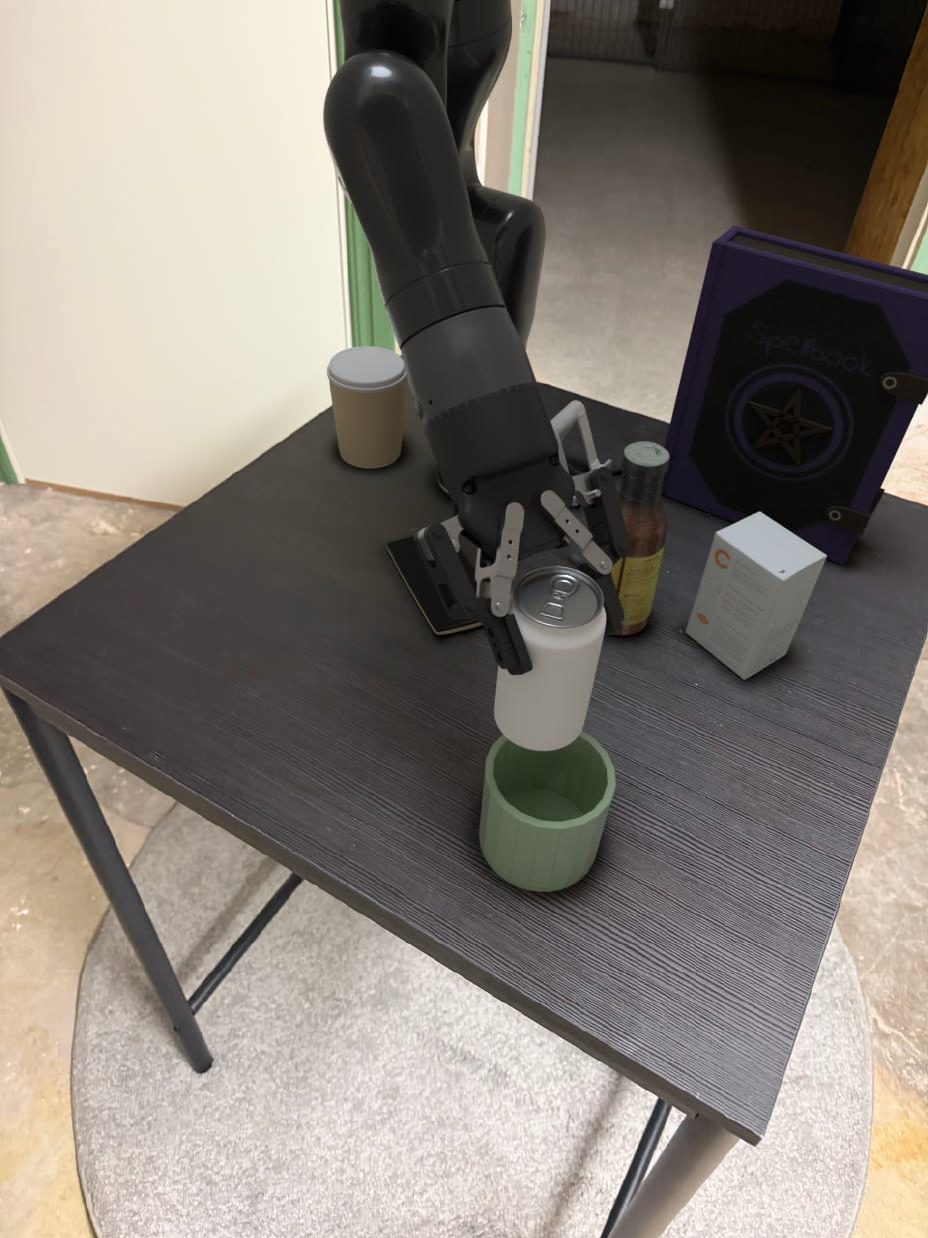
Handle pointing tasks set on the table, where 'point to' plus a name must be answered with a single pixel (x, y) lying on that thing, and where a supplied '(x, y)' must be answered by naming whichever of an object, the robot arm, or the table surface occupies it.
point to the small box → (753, 593)
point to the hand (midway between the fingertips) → (567, 652)
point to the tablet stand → (577, 415)
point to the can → (552, 658)
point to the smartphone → (429, 586)
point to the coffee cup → (368, 404)
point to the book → (797, 386)
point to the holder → (545, 811)
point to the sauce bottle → (641, 531)
